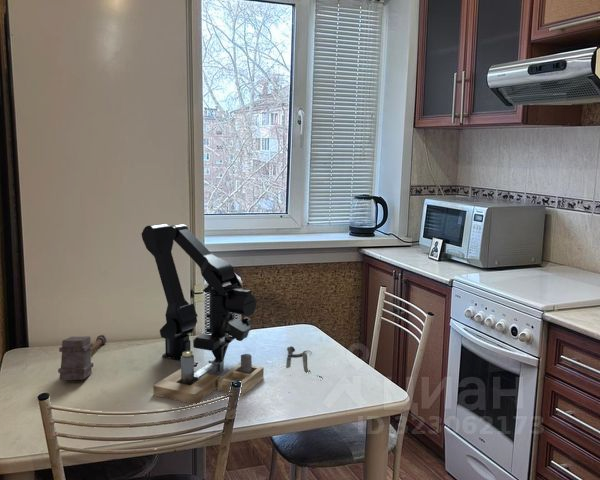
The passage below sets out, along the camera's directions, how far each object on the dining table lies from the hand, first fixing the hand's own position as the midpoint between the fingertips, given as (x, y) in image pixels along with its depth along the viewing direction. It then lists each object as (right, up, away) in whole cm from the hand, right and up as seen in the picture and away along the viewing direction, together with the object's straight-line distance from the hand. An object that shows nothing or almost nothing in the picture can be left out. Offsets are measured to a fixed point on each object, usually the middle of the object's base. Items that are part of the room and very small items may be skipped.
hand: (220, 363), depth 161 cm
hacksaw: (+23, -2, +5) cm, 24 cm away
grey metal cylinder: (-6, -4, -15) cm, 16 cm away
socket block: (-6, -4, -15) cm, 16 cm away
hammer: (-38, 0, +3) cm, 38 cm away
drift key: (-3, -2, -6) cm, 7 cm away
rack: (+7, -3, -10) cm, 13 cm away
